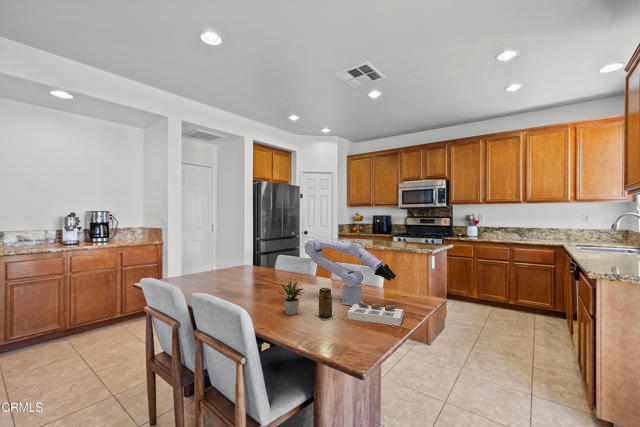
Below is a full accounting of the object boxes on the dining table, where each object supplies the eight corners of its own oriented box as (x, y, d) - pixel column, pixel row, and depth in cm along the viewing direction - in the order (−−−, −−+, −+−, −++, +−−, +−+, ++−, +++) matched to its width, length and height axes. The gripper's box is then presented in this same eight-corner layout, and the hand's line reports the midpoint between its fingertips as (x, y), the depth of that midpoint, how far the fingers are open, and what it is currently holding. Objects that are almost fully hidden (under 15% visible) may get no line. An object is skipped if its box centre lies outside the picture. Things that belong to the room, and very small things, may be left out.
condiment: (328, 312, 134) (328, 286, 134) (337, 317, 126) (337, 290, 126) (314, 314, 130) (314, 288, 130) (323, 320, 123) (322, 292, 123)
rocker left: (358, 306, 129) (358, 302, 129) (359, 304, 132) (360, 301, 132) (366, 308, 128) (367, 305, 127) (368, 306, 130) (368, 303, 130)
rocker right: (385, 311, 124) (384, 307, 124) (386, 309, 127) (385, 305, 127) (394, 310, 123) (393, 306, 123) (395, 308, 125) (394, 304, 126)
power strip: (347, 319, 124) (347, 311, 124) (357, 308, 138) (356, 300, 138) (399, 326, 116) (399, 317, 116) (404, 313, 130) (404, 306, 130)
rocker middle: (371, 309, 127) (371, 306, 127) (373, 307, 129) (372, 304, 129) (380, 308, 125) (379, 305, 125) (381, 306, 128) (381, 303, 128)
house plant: (278, 321, 123) (277, 283, 123) (270, 311, 136) (269, 276, 135) (309, 316, 129) (308, 279, 128) (299, 306, 141) (298, 273, 141)
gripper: (369, 253, 133) (394, 272, 127) (378, 253, 146) (401, 270, 140) (361, 266, 134) (385, 284, 128) (370, 265, 147) (392, 282, 141)
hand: (392, 278), depth 134 cm, fingers open, 7 cm apart
